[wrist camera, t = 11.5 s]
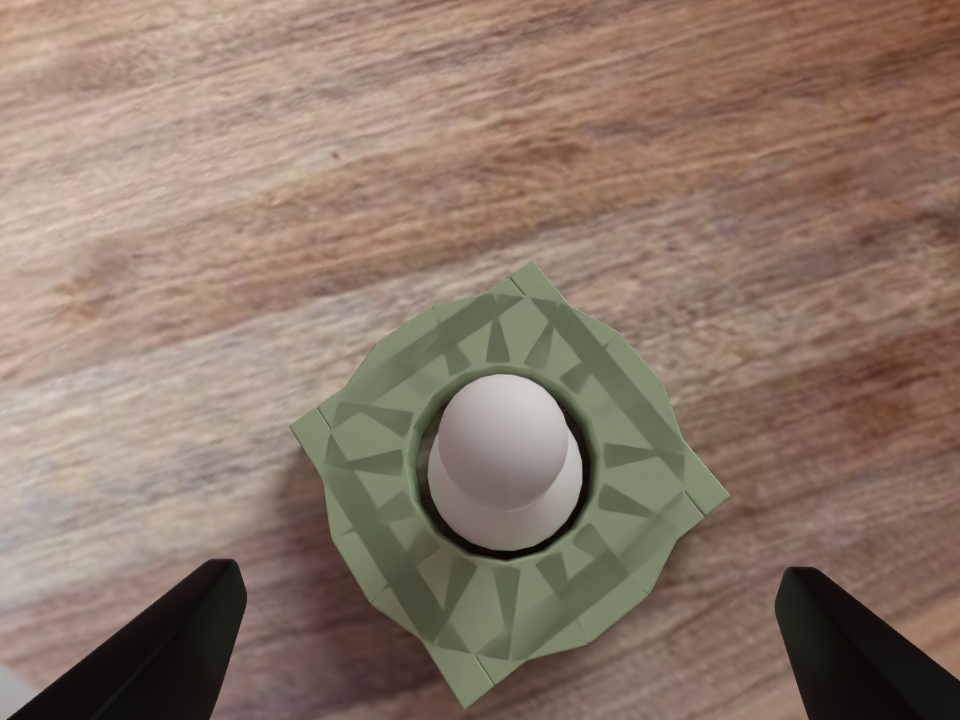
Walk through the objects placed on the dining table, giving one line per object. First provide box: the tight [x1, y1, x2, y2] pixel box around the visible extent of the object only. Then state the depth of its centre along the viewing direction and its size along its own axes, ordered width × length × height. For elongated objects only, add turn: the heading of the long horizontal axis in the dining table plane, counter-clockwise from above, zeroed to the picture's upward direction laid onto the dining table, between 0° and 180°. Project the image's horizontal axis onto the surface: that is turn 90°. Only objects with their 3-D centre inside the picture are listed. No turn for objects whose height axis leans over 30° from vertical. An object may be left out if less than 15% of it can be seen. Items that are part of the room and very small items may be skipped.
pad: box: [290, 261, 730, 710], centre depth 19 cm, size 11×11×2 cm
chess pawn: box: [428, 374, 582, 551], centre depth 15 cm, size 5×5×9 cm
